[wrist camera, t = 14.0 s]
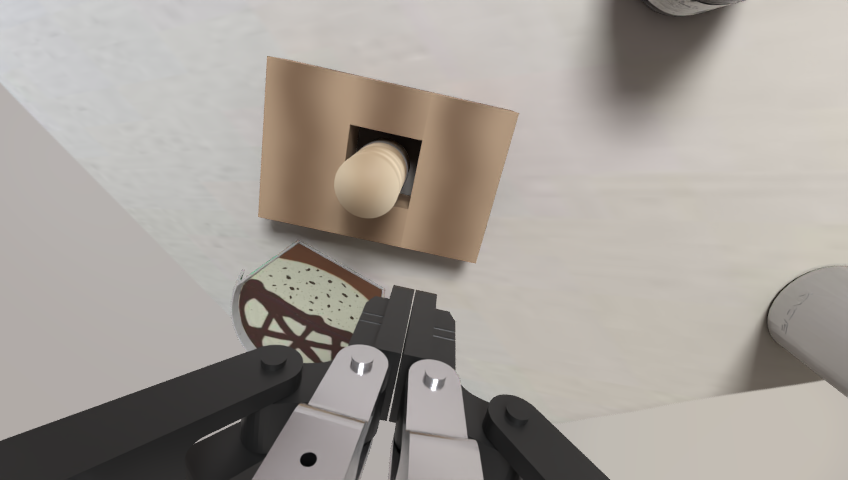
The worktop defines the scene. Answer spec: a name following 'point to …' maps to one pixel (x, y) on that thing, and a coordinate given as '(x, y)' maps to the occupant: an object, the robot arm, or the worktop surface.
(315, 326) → the food container
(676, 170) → the worktop surface
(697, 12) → the ink bottle
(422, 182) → the board
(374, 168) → the peg
